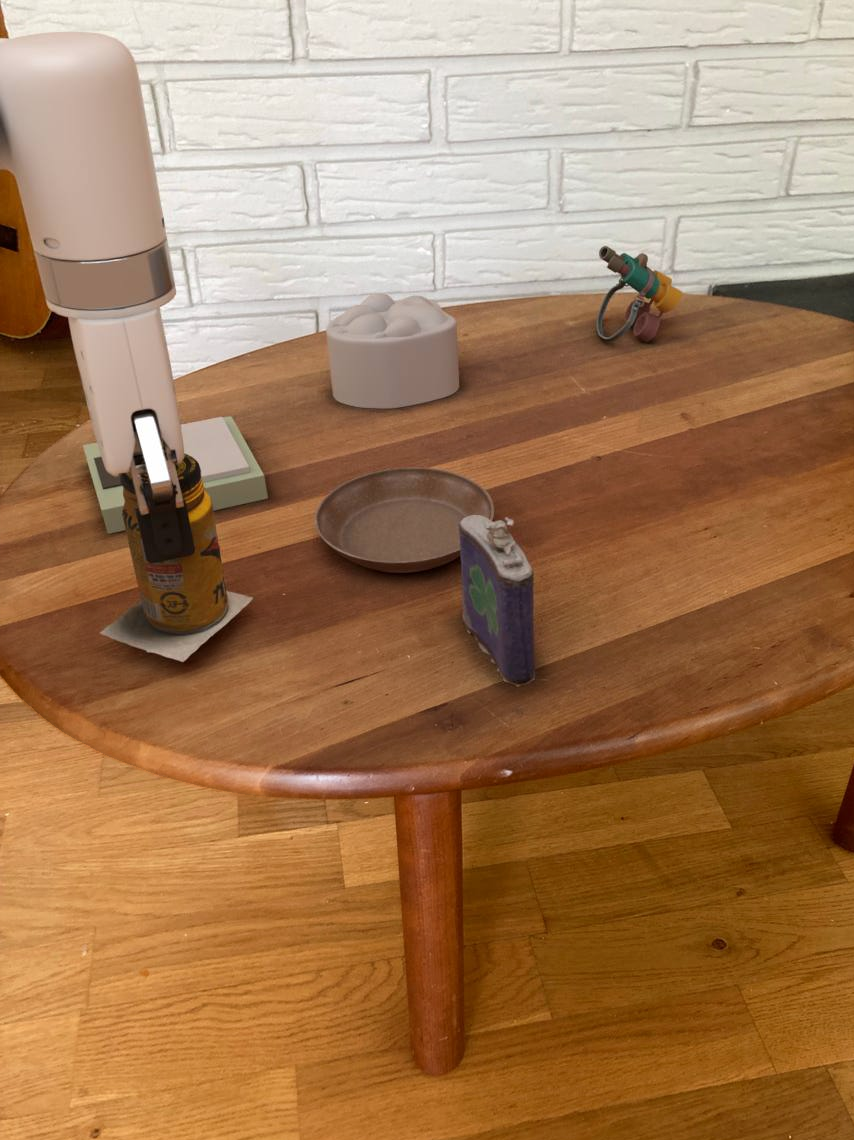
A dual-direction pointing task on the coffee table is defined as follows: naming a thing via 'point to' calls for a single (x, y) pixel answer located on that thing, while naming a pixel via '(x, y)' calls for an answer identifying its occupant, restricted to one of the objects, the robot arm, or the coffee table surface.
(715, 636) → the coffee table surface
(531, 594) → the flask
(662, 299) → the multicolored plastic assembly
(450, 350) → the lumpy-topped squat cylinder
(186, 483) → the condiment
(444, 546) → the saucer
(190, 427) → the scale
